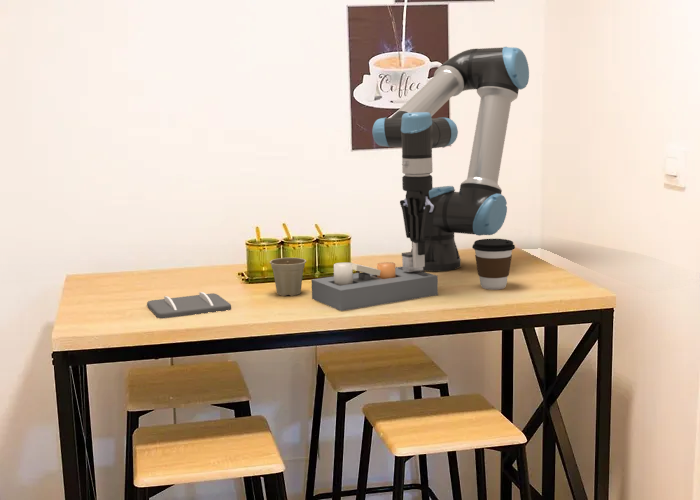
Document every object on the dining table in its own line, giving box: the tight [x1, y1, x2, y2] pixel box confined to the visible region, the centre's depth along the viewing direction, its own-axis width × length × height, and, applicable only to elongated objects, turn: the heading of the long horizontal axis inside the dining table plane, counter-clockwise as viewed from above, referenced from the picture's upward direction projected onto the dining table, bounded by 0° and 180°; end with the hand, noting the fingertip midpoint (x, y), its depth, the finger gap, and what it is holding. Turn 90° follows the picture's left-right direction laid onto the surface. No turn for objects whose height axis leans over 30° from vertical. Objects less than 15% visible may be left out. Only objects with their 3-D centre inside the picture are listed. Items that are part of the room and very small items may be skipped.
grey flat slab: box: [146, 291, 232, 319], centre depth 226 cm, size 18×3×15 cm
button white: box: [333, 262, 354, 286], centre depth 226 cm, size 5×5×6 cm
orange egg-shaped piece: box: [376, 261, 396, 279], centre depth 233 cm, size 5×5×6 cm
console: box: [311, 266, 439, 312], centre depth 231 cm, size 15×28×6 cm, turn 120°
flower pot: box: [269, 257, 307, 297], centre depth 237 cm, size 9×9×9 cm
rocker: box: [348, 262, 381, 276], centre depth 229 cm, size 4×7×1 cm, turn 120°
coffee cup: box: [472, 238, 516, 291], centre depth 239 cm, size 11×11×12 cm
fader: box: [401, 251, 423, 272], centre depth 236 cm, size 3×5×4 cm
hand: (418, 266), depth 234 cm, fingers closed
